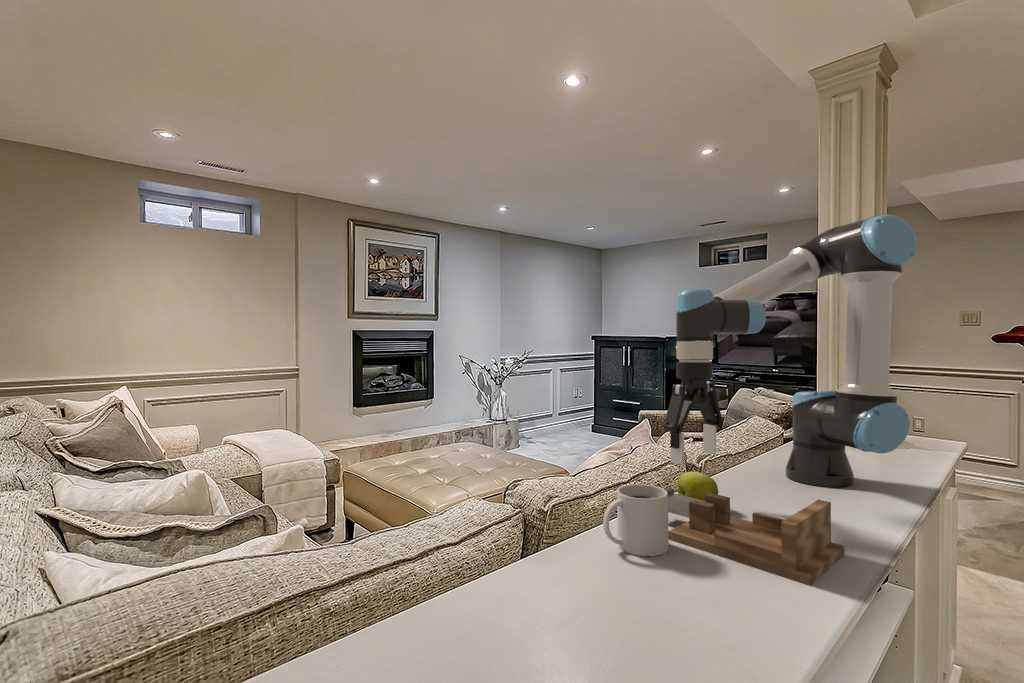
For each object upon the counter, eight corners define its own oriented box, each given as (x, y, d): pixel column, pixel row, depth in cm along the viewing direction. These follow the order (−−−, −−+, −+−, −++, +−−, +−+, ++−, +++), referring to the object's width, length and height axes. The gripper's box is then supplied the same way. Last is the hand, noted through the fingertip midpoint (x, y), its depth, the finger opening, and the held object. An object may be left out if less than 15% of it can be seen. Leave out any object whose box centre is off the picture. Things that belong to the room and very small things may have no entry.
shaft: (668, 508, 106) (668, 487, 106) (715, 521, 98) (715, 498, 98) (656, 513, 103) (656, 491, 103) (704, 527, 95) (703, 504, 95)
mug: (669, 539, 94) (668, 486, 94) (667, 561, 85) (666, 502, 85) (610, 533, 98) (609, 481, 98) (602, 553, 89) (601, 496, 89)
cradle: (710, 518, 105) (710, 477, 105) (844, 554, 87) (843, 505, 87) (668, 539, 94) (667, 493, 94) (809, 585, 76) (809, 529, 76)
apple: (667, 505, 113) (667, 469, 113) (703, 501, 116) (702, 466, 115) (688, 517, 106) (687, 478, 106) (725, 512, 108) (725, 475, 108)
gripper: (706, 359, 121) (706, 447, 122) (646, 362, 105) (646, 464, 105) (737, 360, 116) (737, 452, 116) (679, 363, 99) (678, 471, 99)
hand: (694, 458), depth 110 cm, fingers open, 13 cm apart
